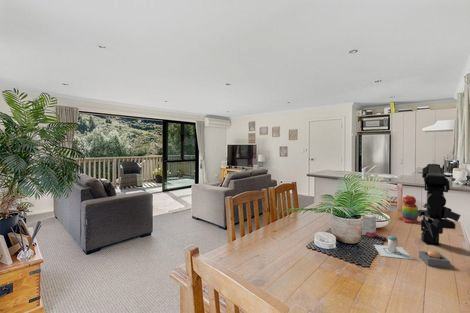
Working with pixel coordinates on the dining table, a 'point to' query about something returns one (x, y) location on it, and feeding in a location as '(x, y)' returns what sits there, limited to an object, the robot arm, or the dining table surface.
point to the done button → (433, 254)
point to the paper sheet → (399, 254)
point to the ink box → (369, 225)
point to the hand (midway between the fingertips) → (434, 237)
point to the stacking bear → (409, 210)
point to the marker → (392, 244)
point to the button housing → (434, 260)
